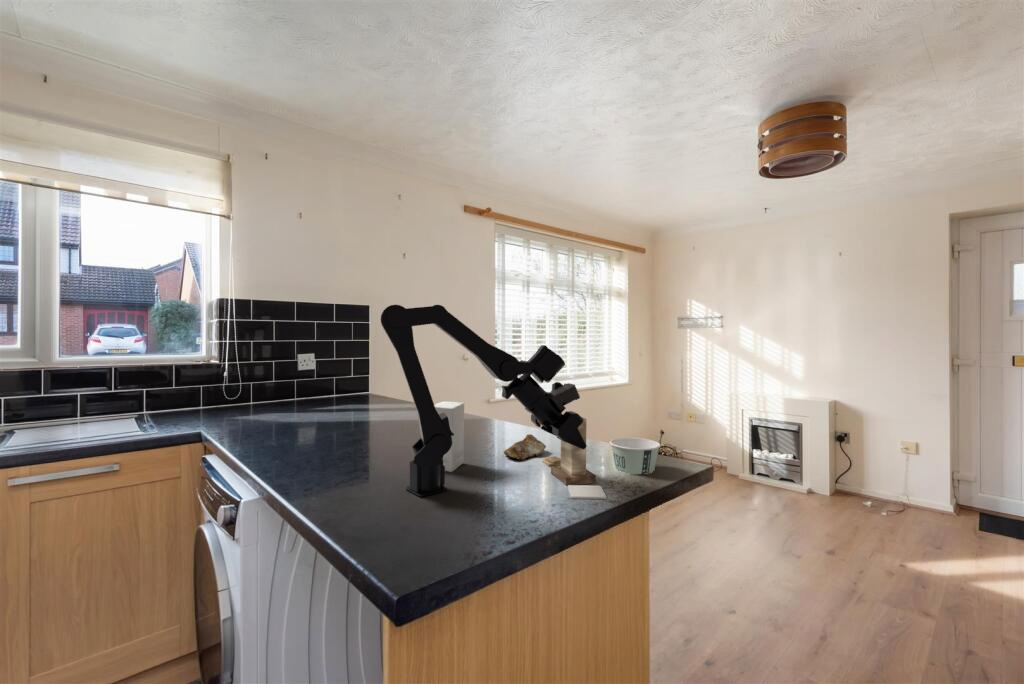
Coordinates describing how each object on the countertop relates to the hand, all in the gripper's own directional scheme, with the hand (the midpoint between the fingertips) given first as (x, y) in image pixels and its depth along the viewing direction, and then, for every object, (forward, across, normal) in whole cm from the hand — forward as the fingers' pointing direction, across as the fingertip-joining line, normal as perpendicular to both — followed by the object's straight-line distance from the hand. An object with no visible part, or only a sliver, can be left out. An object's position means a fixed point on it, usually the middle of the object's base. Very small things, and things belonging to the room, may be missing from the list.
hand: (578, 444), depth 107 cm
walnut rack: (+4, 0, +6) cm, 8 cm away
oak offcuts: (+4, +12, +6) cm, 15 cm away
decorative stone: (+2, +22, +10) cm, 25 cm away
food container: (+17, +3, -6) cm, 18 cm away
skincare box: (-14, +16, +25) cm, 33 cm away
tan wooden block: (+4, 0, +6) cm, 8 cm away
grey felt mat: (+3, -10, +7) cm, 13 cm away
